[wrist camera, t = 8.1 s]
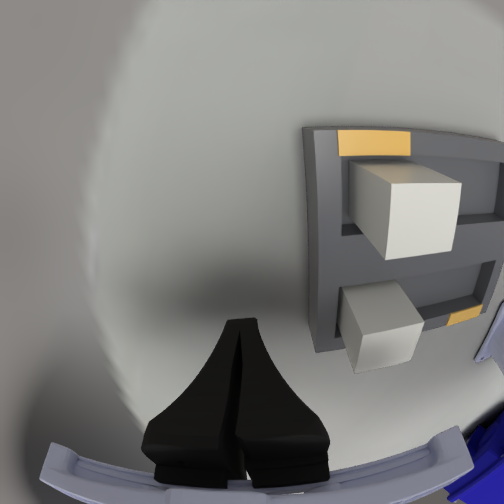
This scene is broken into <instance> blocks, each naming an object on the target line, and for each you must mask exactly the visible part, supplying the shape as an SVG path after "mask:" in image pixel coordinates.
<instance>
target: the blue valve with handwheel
mask: <svg viewBox="0 0 504 504" xmlns="http://www.w3.org/2000/svg"><path fill="white" fill-rule="evenodd" d="M465 443H466V446H467V448H468V451H469V453H470V456H471V459H472V461H473V464H474V468H473V469H472V470H471V471H469V472H468V473H466V474H465V475H463V476H462V477H460V478H459V479H457V480H456V481H454V482H452V483H451V484H449V485H447V486H445V487H443V488H444V489H445V490H446V491H448V492H449V493H450V494H449V495H448V497H447V500H449V501H450V502H455V503H456V502H457V501H458V499H460V500H462V501H463V502H465V503H467V504H504V410H503V412H502V413H501V414H500V415H499V416H498V417H497V419H496V420H495V421H494V422H493V423H492V424H491V425H490V426H489V427H488V428H487V429H485V428H483V427H482V426H480V425H479V426H478V427H477V428H476V429H475V430H474V432H473V433H472V434H471V436H470V437H469V438H467V440H466V441H465Z"/></svg>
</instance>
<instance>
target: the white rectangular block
mask: <svg viewBox="0 0 504 504" xmlns="http://www.w3.org/2000/svg"><path fill="white" fill-rule="evenodd" d="M461 185H462V183H460V182H458V181H456V180H454V179H452V178H450V177H447V176H445V175H443V174H441V173H439V172H436V171H434V170H432V169H429V168H427V167H425V166H422V165H420V164H417V163H415V162H412V161H410V160H349V217H350V218H351V220H352V221H353V222H354V223H355V224H356V225H357V226H358V228H359V229H360V230H361V231H362V232H363V234H364V235H365V236H366V237H367V238H368V240H369V241H370V242H371V243H372V244H373V246H374V247H375V248H376V249H377V251H378V252H379V253H380V254H381V256H382V257H383V258H384V259H385V260H390V259H398V258H405V257H412V256H419V255H426V254H433V253H440V252H447V251H451V249H452V245H453V240H454V234H455V229H456V223H457V217H458V210H459V203H460V195H461Z"/></svg>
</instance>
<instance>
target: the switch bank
mask: <svg viewBox="0 0 504 504" xmlns="http://www.w3.org/2000/svg"><path fill="white" fill-rule="evenodd" d="M302 134H303V146H304V160H305V175H306V192H307V213H308V242H309V327H310V331H311V336H312V340H313V344H314V348H315V352H316V353H319V352H326V351H332V350H339V349H344V348H346V347H345V344H344V341H343V338H342V336H341V333H340V330H339V327H338V324H337V322H336V317H337V306H338V293H339V287H345V286H352V285H359V284H366V283H373V282H379V281H386V280H392V279H395V280H396V281H397V283H398V284H399V285H400V287H401V288H402V290H403V291H404V292H405V294H406V295H407V297H408V298H409V300H410V301H411V302H412V304H413V305H414V307H415V308H416V310H417V311H418V313H419V314H420V316H421V317H422V319H423V320H424V325H423V328H422V331H421V332H423V331H427V330H430V329H434V328H438V327H441V326H445V325H446V326H449V325H453V324H456V323H459V322H462V321H465V320H468V319H471V318H474V317H477V316H479V314H482V313H485V312H486V310H487V307H488V305H489V302H490V300H491V297H492V295H493V292H494V289H495V286H496V284H497V281H498V278H499V275H500V272H501V269H502V265H503V262H504V142H500V141H497V140H492V139H487V138H482V137H476V136H470V135H464V134H457V133H449V132H441V131H432V130H422V129H410V128H394V127H368V126H330V127H304V128H302ZM349 160H410V161H412V162H415V163H417V164H420V165H422V166H425V167H427V168H429V169H432V170H434V171H436V172H439V173H441V174H443V175H445V176H447V177H450V178H452V179H454V180H456V181H458V182H460V183H462V185H461V195H460V203H459V210H458V217H457V223H456V229H455V234H454V240H453V245H452V249H451V251H447V252H440V253H433V254H426V255H419V256H412V257H405V258H398V259H390V260H385V259H384V258H383V257H382V256H381V254H380V253H379V252H378V251H377V249H376V248H375V247H374V246H373V244H372V243H371V242H370V241H369V240H368V238H367V237H366V236H365V235H364V234H363V232H362V231H361V230H360V229H359V228H358V226H357V225H356V224H355V223H354V222H353V221H352V220H351V218H350V217H349Z"/></svg>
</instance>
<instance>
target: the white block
mask: <svg viewBox="0 0 504 504" xmlns="http://www.w3.org/2000/svg"><path fill="white" fill-rule="evenodd" d="M336 322H337V324H338V327H339V330H340V333H341V336H342V338H343V341H344V344H345V347H346V350H347V353H348V356H349V359H350V362H351V365H352V368H353V371H354V374H357V373H362V372H366V371H371V370H375V369H380V368H384V367H388V366H392V365H396V364H400V363H404V362H407V361H410V360H411V358H412V355H413V353H414V350H415V347H416V345H417V342H418V339H419V337H420V334H421V331H422V328H423V325H424V320H423V319H422V317H421V316H420V314H419V313H418V311H417V310H416V308H415V307H414V305H413V304H412V302H411V301H410V300H409V298H408V297H407V295H406V294H405V292H404V291H403V290H402V288H401V287H400V285H399V284H398V283H397V281H396V280H395V279H392V280H386V281H379V282H373V283H366V284H359V285H352V286H345V287H339V293H338V306H337V317H336Z"/></svg>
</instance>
